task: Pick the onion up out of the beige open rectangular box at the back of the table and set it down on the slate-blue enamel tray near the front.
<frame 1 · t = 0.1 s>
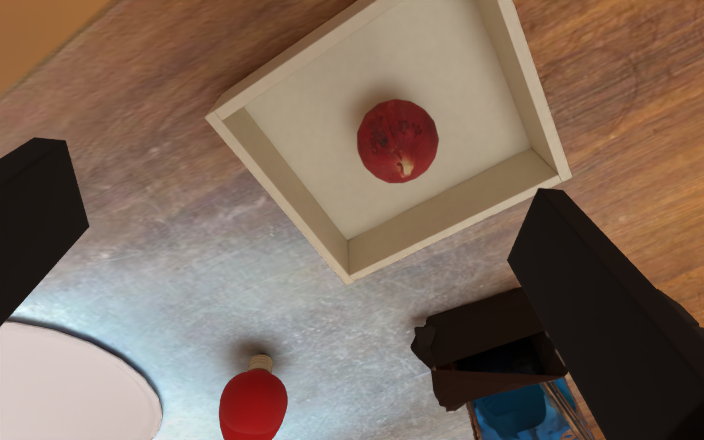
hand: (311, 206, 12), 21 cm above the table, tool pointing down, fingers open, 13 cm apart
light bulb: (262, 354, 48), on the table
lantern: (493, 356, 50), on the table
onion: (390, 122, 32), resting on beige open rectangular box
plate: (44, 394, 51), on the table
beige open rectangular box: (390, 121, 33), on the table
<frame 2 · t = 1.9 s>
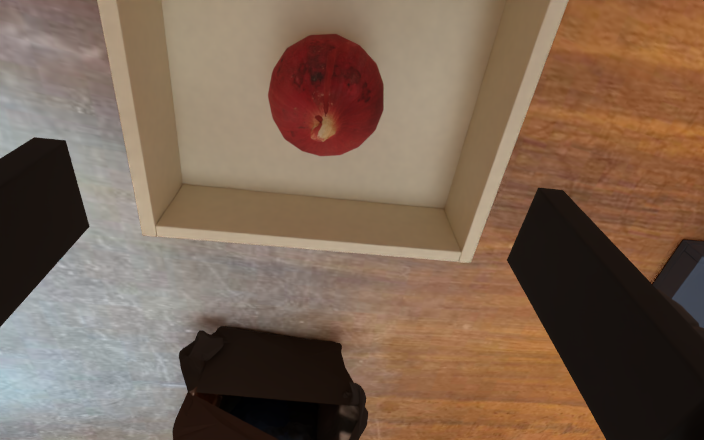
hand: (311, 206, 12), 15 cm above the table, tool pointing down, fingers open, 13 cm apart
lantern: (265, 399, 42), on the table
onion: (328, 77, 24), resting on beige open rectangular box
beige open rectangular box: (328, 76, 24), on the table
tray: (693, 320, 37), on the table
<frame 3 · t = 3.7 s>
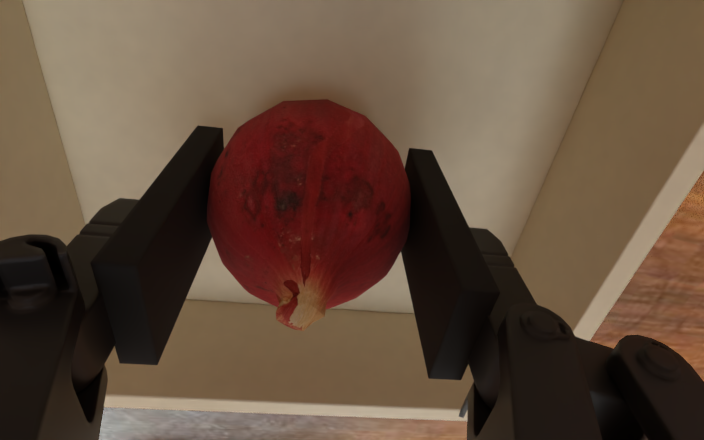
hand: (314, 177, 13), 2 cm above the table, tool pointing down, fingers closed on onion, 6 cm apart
onion: (316, 150, 15), resting on beige open rectangular box, touching gripper
beige open rectangular box: (316, 147, 15), on the table
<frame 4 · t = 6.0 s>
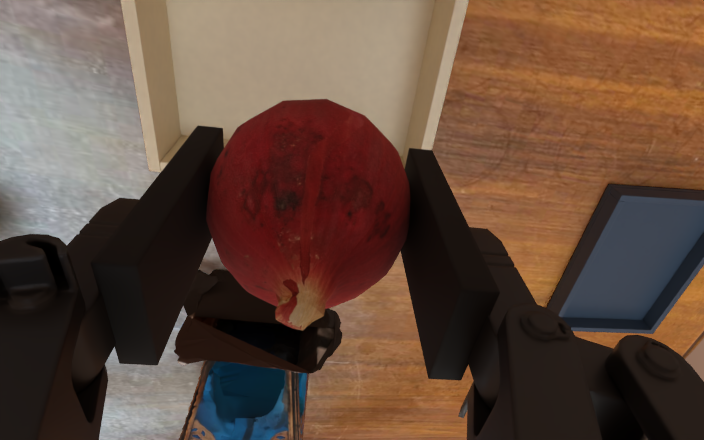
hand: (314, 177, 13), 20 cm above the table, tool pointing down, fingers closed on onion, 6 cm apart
lantern: (256, 342, 47), on the table
onion: (316, 149, 15), point 17 cm above the table, touching gripper
beige open rectangular box: (300, 40, 29), on the table
tray: (626, 260, 42), on the table
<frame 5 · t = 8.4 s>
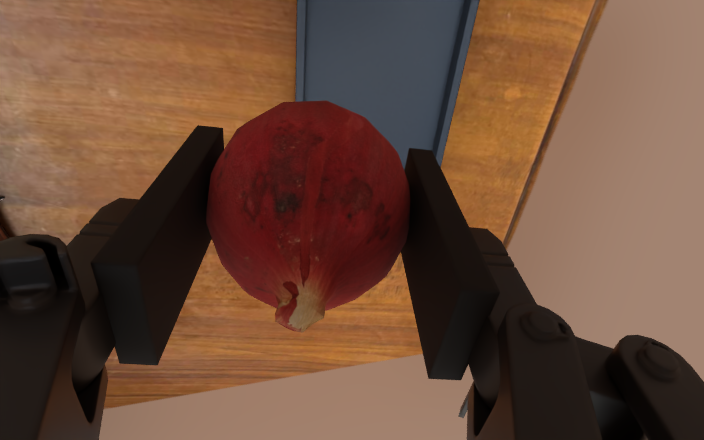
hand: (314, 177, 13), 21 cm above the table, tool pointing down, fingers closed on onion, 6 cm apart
onion: (316, 151, 15), point 19 cm above the table, touching gripper
tray: (375, 84, 32), on the table
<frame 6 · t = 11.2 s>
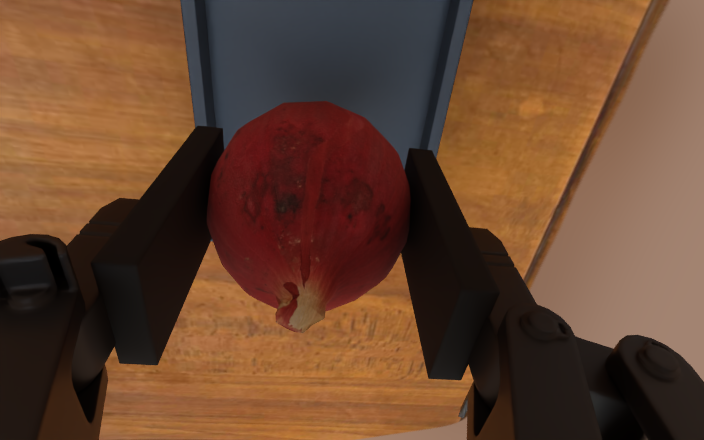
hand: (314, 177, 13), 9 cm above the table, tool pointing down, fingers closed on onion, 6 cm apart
onion: (316, 151, 15), point 7 cm above the table, touching gripper
tray: (323, 92, 21), on the table
when the fingers open (3 cm above the table, at t = 13.2 s): onion stays where it is, resting on tray.
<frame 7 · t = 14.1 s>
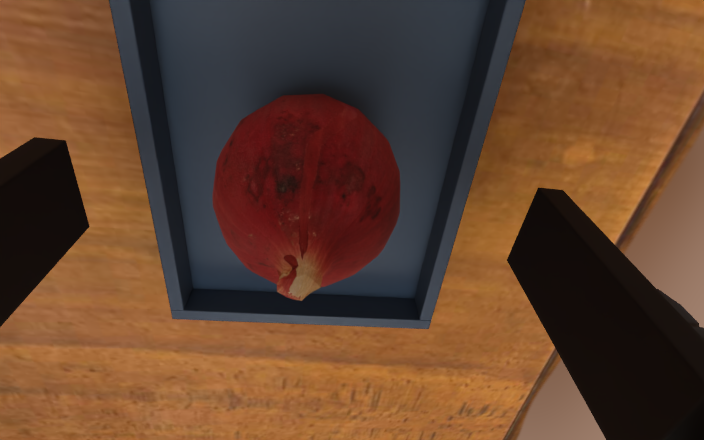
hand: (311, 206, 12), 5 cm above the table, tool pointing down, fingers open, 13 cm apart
onion: (314, 143, 16), resting on tray
tray: (314, 138, 16), on the table
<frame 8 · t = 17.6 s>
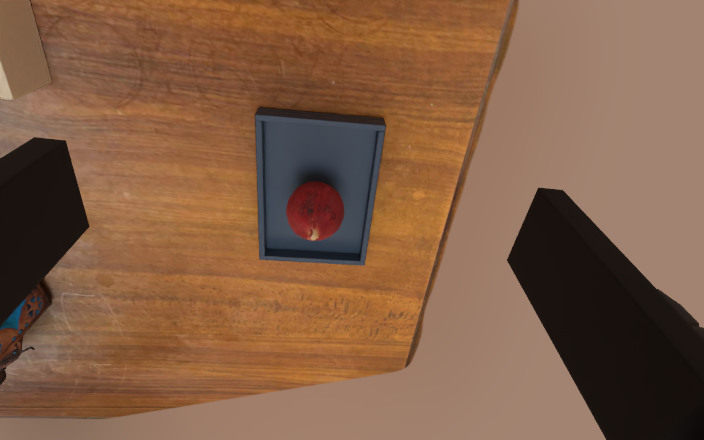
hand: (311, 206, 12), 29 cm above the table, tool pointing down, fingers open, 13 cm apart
onion: (316, 191, 44), resting on tray
tray: (317, 189, 44), on the table
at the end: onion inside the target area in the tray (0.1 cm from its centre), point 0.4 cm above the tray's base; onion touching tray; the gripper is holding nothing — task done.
